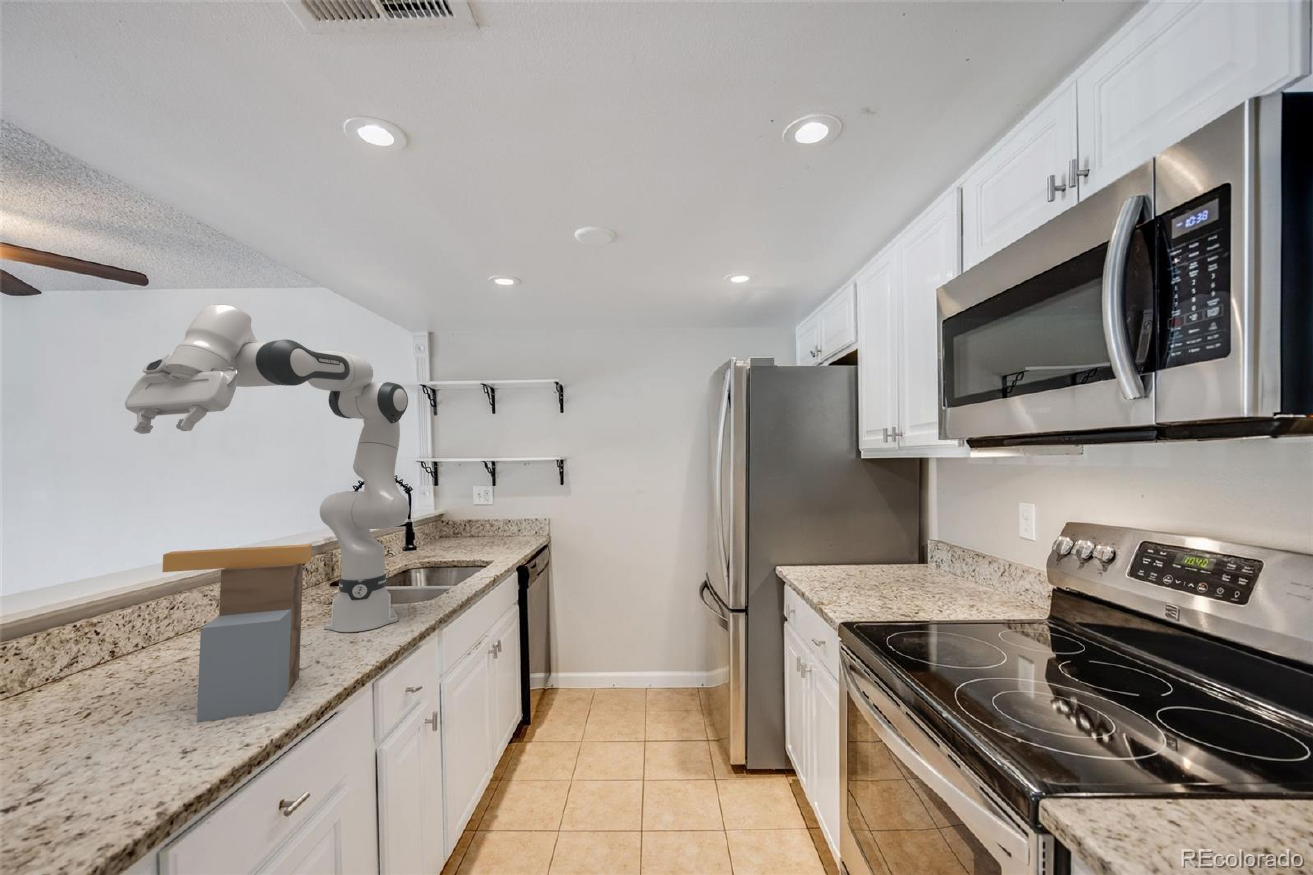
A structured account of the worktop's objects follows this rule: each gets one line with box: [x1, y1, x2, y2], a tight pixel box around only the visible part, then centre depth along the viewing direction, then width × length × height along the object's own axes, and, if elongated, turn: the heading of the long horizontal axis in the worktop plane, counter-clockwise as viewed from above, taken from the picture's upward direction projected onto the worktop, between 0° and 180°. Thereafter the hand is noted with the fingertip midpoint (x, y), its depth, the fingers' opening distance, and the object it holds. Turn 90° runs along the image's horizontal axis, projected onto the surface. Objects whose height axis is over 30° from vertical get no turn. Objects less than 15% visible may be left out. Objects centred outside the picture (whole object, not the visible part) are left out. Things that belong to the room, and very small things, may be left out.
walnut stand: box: [218, 563, 304, 693], centre depth 106 cm, size 8×12×26 cm, turn 112°
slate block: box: [196, 609, 291, 723], centre depth 98 cm, size 8×12×17 cm, turn 112°
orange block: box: [162, 543, 313, 573], centre depth 105 cm, size 4×24×4 cm, turn 112°
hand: (161, 431), depth 94 cm, fingers open, 8 cm apart
